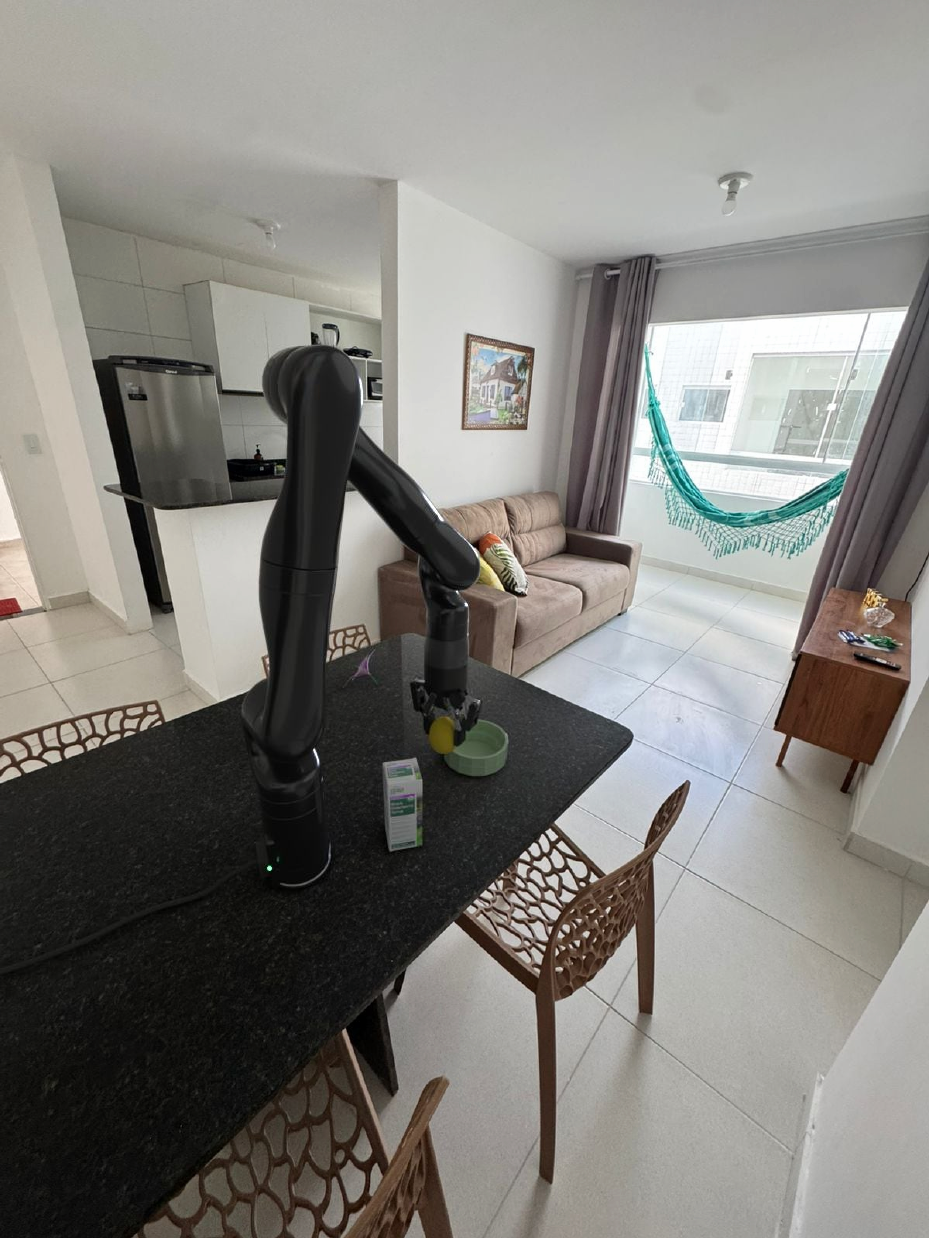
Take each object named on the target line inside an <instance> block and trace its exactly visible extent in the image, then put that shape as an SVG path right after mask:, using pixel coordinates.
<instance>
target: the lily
mask: <svg viewBox="0 0 929 1238" xmlns="http://www.w3.org/2000/svg"><path fill="white" fill-rule="evenodd" d="M374 652H375V650H373V651H372V652H371V654H369V655H368V654H367V655H366V656H365V657H364V658H363V659H362V661H361V662H360V663H359V665H358V664H357V663H356V664H354V666H355V667H356V668H358V669H357V672H356V673H355V674H353V675H352V676H350V678H349V679H348V680H347V681H346V683H345V684H344V686H343V687H342V688H343V689H344V688H345V686H347V684H348V683H349V681H350V680H352V681H354V679H355V678H356V677H360V676H365V675H367V676H369V677H370V678H371V679H372V680H373V682H374V683H375V684H376V686H379V684H378V682H377V680H376V679H375V678H374V677H373V675H371V673H370V672H369V660H370V658H371V656H372V655H373V653H374Z"/></svg>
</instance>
